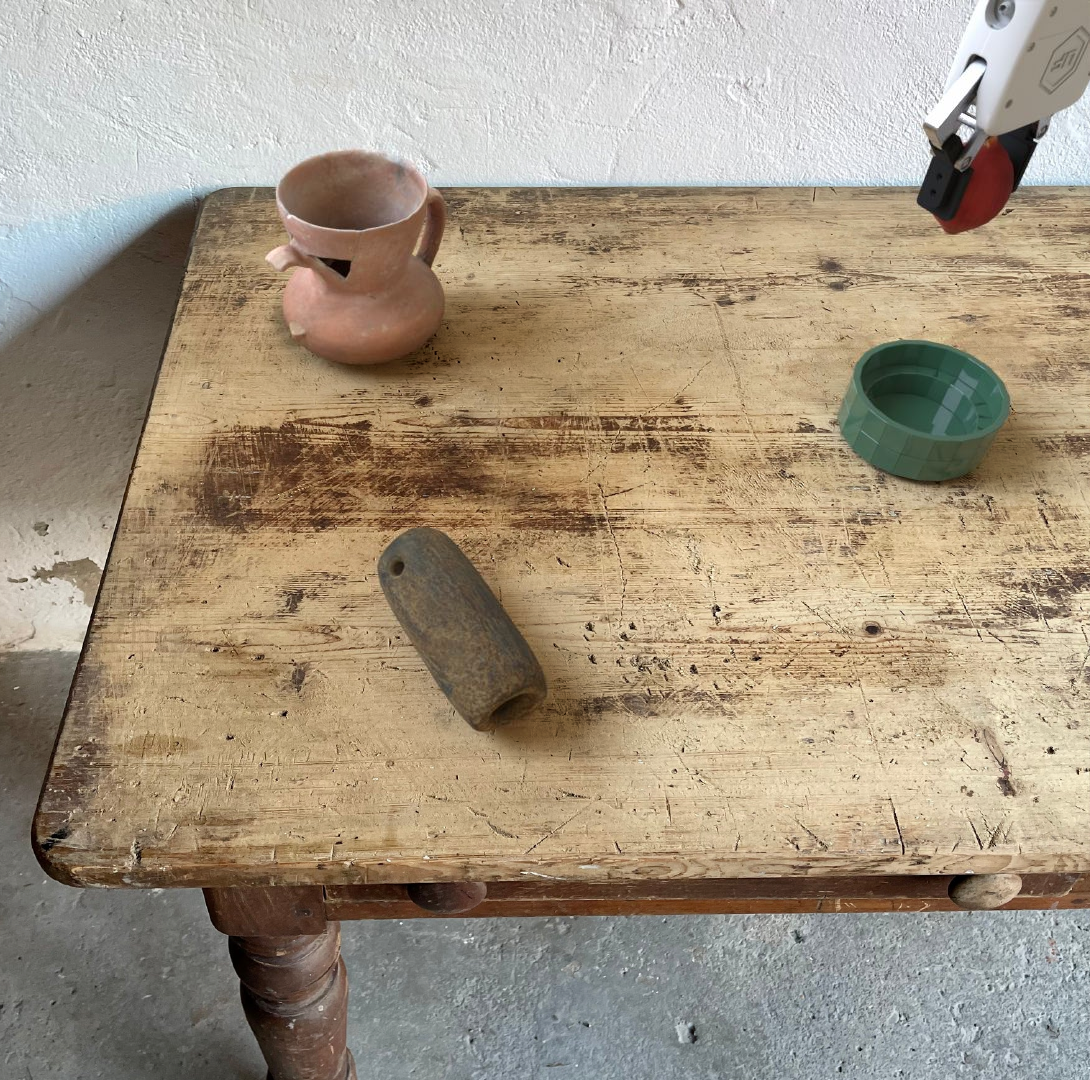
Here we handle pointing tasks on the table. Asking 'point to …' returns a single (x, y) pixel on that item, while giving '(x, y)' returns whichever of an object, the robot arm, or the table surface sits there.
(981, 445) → the bowl
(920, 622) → the table surface
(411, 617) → the stone weight
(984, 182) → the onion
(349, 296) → the ceramic jug
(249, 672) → the table surface
